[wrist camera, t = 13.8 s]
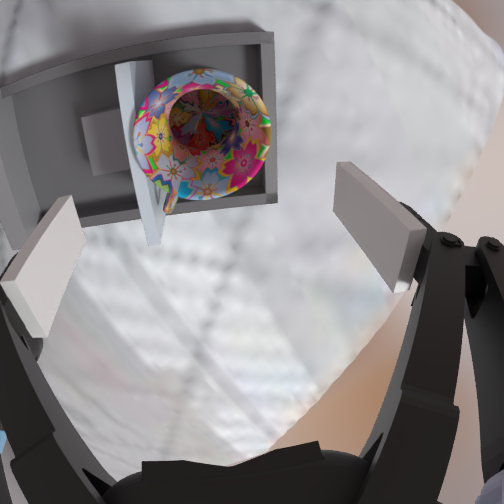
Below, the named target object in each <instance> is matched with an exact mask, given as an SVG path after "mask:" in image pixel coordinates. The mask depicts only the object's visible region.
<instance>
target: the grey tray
mask: <svg viewBox="0 0 504 504" xmlns="http://www.w3.org/2000/svg"><path fill="white" fill-rule="evenodd" d="M145 60H152V62H153V72H154V81H155V87H156V86H157V85H158V84H160V83H161V82H162V81H164V80H166V79H167V78H169V77H171V76H173V75H175V74H178V73H181V72H184V71H188V70H194V69H214V70H219V71H223V72H226V73H229V74H232V75H234V76H236V77H238V78H240V79H241V80H243V81H244V82H246V83H247V84H248V85H249V86H250V87H251V88H253V89H254V90H255V92H256V93H257V94H258V95H259V97H260V98H261V100H262V101H263V103H264V105H265V107H266V109H267V112H268V115H269V119H270V124H271V141H270V147H269V151H268V154H267V156H266V159H265V161H264V163H263V165H262V166H261V168H260V169H259V171H258V172H257V173H256V174H255V176H254V177H253V178H252V179H251V180H250V181H249V182H248V183H246V184H245V185H244V186H243V187H241V188H239V189H238V190H236V191H234V192H232V193H230V194H228V195H226V196H222V197H219V198H215V199H209V200H190V199H185V198H180V197H178V200H177V202H176V205H175V207H174V209H173V211H172V212H171V213H170V214H168V213H166V215H174V214H182V213H190V212H198V211H207V210H215V209H224V208H233V207H243V206H252V205H262V204H273V203H278V195H277V122H276V82H275V51H274V32H236V33H220V34H208V35H198V36H189V37H181V38H174V39H167V40H160V41H154V42H149V43H143V44H138V45H133V46H128V47H124V48H119V49H115V50H111V51H107V52H103V53H99V54H95V55H91V56H88V57H84V58H81V59H77V60H74V61H71V62H67V63H64V64H61V65H58V66H55V67H52V68H49V69H47V70H44V71H41V72H38V73H36V74H33V75H30V76H28V77H25V78H23V79H20V80H18V81H16V82H13V83H11V84H9V85H6V86H4V87H2V88H0V221H1V224H2V226H3V229H4V231H5V234H6V236H7V238H8V241H9V243H10V245H11V248H12V250H18V249H21V248H22V246H23V245H24V243H25V242H26V240H27V239H28V238H29V236H30V235H31V233H32V232H33V231H34V229H35V228H36V226H37V225H38V224H39V222H40V221H41V220H42V218H43V217H44V216H45V214H46V213H47V212H48V210H49V209H50V208H51V207H52V205H53V204H54V203H55V201H56V200H57V199H58V198H59V197H63V196H68V195H72V198H73V202H74V205H75V208H76V212H77V215H78V218H79V221H80V224H81V227H82V228H84V227H90V226H97V225H103V224H110V223H116V222H123V221H130V220H137V219H141V214H140V210H139V206H138V201H137V196H136V192H135V187H134V182H133V178H132V173H131V169H129V170H123V171H117V172H112V173H106V174H101V175H96V176H93V172H92V168H91V164H90V159H89V155H88V150H87V145H86V141H85V136H84V131H83V125H82V120H81V117H83V116H85V115H86V114H88V113H91V112H95V111H99V110H104V109H108V108H113V107H117V106H120V103H119V96H118V88H117V81H116V72H115V65H117V64H121V63H126V62H132V61H145ZM166 215H165V216H166Z"/></svg>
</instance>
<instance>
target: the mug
mask: <svg viewBox="0 0 504 504" xmlns="http://www.w3.org/2000/svg"><path fill="white" fill-rule="evenodd" d="M132 139H133V148H134V152H135V155H136V158H137V161H138V163H139V165H140V167H141V169H142V170H143V172H144V173H145V174H146V176H147V177H148V178H149V179H150V180H151V181H152V182H153V183H154V184H155V185H157V186H158V187H159V188H161V189H162V190H164V191H166V192H167V195H166V199H165V202H164V206H163V211H164V212H165V213H168V214H170V213H171V212H172V211H173V209H174V207H175V205H176V202H177V200H178V197H180V198H185V199H190V200H209V199H215V198H219V197H222V196H226V195H228V194H230V193H232V192H234V191H236V190H238V189H239V188H241V187H243V186H244V185H245V184H246V183H248V182H249V181H250V180H251V179H252V178H253V177H254V176H255V174H256V173H257V172H258V171H259V169H260V168H261V166H262V165H263V163H264V161H265V159H266V156H267V154H268V151H269V147H270V141H271V124H270V119H269V115H268V112H267V109H266V107H265V105H264V103H263V101H262V100H261V98H260V97H259V95H258V94H257V93H256V92H255V90H254V89H253V88H251V87H250V86H249V85H248V84H247V83H246V82H244V81H243V80H241V79H240V78H238V77H236V76H234V75H232V74H229V73H226V72H223V71H219V70H214V69H194V70H188V71H184V72H181V73H178V74H175V75H173V76H171V77H169V78H167V79H166V80H164V81H162V82H161V83H160V84H158V85H157V86H156V87H155V88H154V89H153V90H152V91H151V92H150V93H149V94H148V95H147V96H146V98H145V99H144V101H143V102H142V104H141V106H140V107H139V110H138V112H137V114H136V117H135V121H134V125H133V138H132Z"/></svg>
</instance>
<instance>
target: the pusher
mask: <svg viewBox="0 0 504 504" xmlns="http://www.w3.org/2000/svg"><path fill="white" fill-rule="evenodd" d="M115 72H116V81H117V88H118V96H119V103H120V106H117V107H113V108H108V109H104V110H99V111H95V112H91V113H88V114H86V115H85V116H83V117H81V120H82V125H83V131H84V136H85V141H86V145H87V150H88V155H89V159H90V164H91V168H92V172H93V176H96V175H101V174H106V173H112V172H117V171H123V170H129V169H131V173H132V178H133V182H134V187H135V192H136V196H137V201H138V206H139V210H140V214H141V219H142V223H143V227H144V231H145V235H146V239H147V243H148V246H151V245H159V244H160V243H161V237H162V232H163V226H164V220H165V215H166V213H165V212H164V211H163V206H164V202H165V199H166V195H167V192H166V191H164V190H162V189H161V188H159V187H158V186H157V185H155V184H154V183H153V182H152V181H151V180H150V179H149V178H148V177H147V176H146V174H145V173H144V172H143V170H142V169H141V167H140V165H139V163H138V161H137V158H136V155H135V152H134V148H133V139H132V138H133V125H134V121H135V117H136V114H137V112H138V110H139V107H140V106H141V104H142V102H143V101H144V99H145V98H146V96H147V95H148V94H149V93H150V92H151V91H152V90H153V89H154V88H155V81H154V72H153V62H152V60H145V61H132V62H126V63H121V64H117V65H115Z"/></svg>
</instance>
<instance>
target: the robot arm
mask: <svg viewBox="0 0 504 504" xmlns="http://www.w3.org/2000/svg"><path fill="white" fill-rule="evenodd" d="M333 212H334V213H335V214H336V216H337V217H338V218H339V220H340V221H341V222H342V223H343V225H344V226H345V227H346V229H347V230H348V231H349V233H350V234H351V235H352V237H353V238H354V239H355V241H356V242H357V243H358V245H359V246H360V247H361V249H362V250H363V251H364V253H365V254H366V256H367V257H368V258H369V260H370V261H371V262H372V264H373V265H374V267H375V268H376V269H377V271H378V272H379V274H380V275H381V276H382V278H383V279H384V281H385V282H386V284H387V285H388V287H389V288H390V289H391V291H392V292H393V293H398V292H402V291H407V290H409V289H410V286H411V283H412V280H413V277H414V278H415V280H416V281H417V282H418V287H417V290H416V293H415V295H414V298H413V301H412V304H411V306H412V310H411V314H410V318H409V322H408V326H407V330H406V333H405V337H404V340H403V344H402V347H401V351H400V354H399V357H398V360H397V363H396V366H395V370H394V373H393V376H392V379H391V381H390V384H389V387H388V390H387V393H386V396H385V398H384V401H383V404H382V406H381V409H380V412H379V414H378V417H377V419H376V422H375V424H374V427H373V430H372V432H371V434H370V436H369V438H368V440H367V442H366V444H365V446H364V448H363V450H362V451H361V453H360V455H359V457H357V456H355V455H352V454H349V453H345V452H340V451H333V450H321V449H320V446H319V443H318V441H315V442H310V443H305V444H301V445H296V446H292V447H286V448H281V449H275V450H273V451H270V452H268V453H266V454H263V455H261V456H258V457H256V458H253V459H251V460H248V461H246V462H243V463H241V464H238V465H235V466H230V467H226V466H217V465H210V464H203V463H197V462H191V461H185V460H178V461H142V471H141V472H137V473H135V474H132V475H129V476H127V477H125V478H123V479H121V480H120V481H118V482H117V481H116V480H115V479H114V478H113V477H111V476H110V475H109V474H108V473H107V472H106V470H105V469H104V468H103V467H102V466H101V464H100V463H99V462H98V460H97V459H96V458H95V456H94V455H93V454H92V452H91V451H90V449H89V448H88V447H87V445H86V444H85V442H84V441H83V440H82V438H81V437H80V435H79V434H78V432H77V431H76V429H75V428H74V426H73V425H72V423H71V421H70V420H69V418H68V417H67V415H66V414H65V412H64V410H63V409H62V407H61V405H60V404H59V402H58V400H57V399H56V397H55V395H54V393H53V392H52V390H51V388H50V386H49V384H48V383H47V381H46V379H45V377H44V375H43V373H42V371H41V369H40V367H39V365H38V363H37V361H38V359H39V357H40V354H41V351H42V348H43V340H42V337H48V334H49V331H50V329H51V326H52V323H53V320H54V318H55V315H56V312H57V310H58V307H59V304H60V302H61V299H62V297H63V294H64V292H65V289H66V287H67V284H68V282H69V280H70V277H71V275H72V273H73V270H74V268H75V266H76V263H77V261H78V259H79V257H80V255H81V252H82V250H83V248H84V246H85V244H86V239H85V236H84V234H83V231H82V227H81V224H80V221H79V218H78V215H77V212H76V208H75V205H74V202H73V198H72V195H68V196H63V197H59V198H58V199H57V200H56V201H55V203H54V204H53V205H52V207H51V208H50V209H49V210H48V212H47V213H46V214H45V216H44V217H43V218H42V220H41V221H40V222H39V224H38V225H37V226H36V228H35V229H34V231H33V232H32V233H31V235H30V236H29V238H28V239H27V240H26V242H25V243H24V245H23V246H22V248H21V249H20V251H19V252H18V253H17V254H16V255H15V256H13V257H12V259H11V260H10V262H9V264H8V266H7V267H6V268H5V270H4V273H2V275H1V276H0V454H1V453H2V451H3V448H4V445H5V441H6V438H8V441H9V443H10V445H11V448H12V450H13V452H14V455H15V458H14V459H13V460H11V462H10V466H11V469H12V472H13V474H14V476H15V478H16V480H17V482H18V484H19V486H20V488H21V490H22V492H23V494H24V496H25V498H26V499H27V501H28V503H29V504H442V503H440V502H438V501H437V499H438V496H439V493H440V490H441V487H442V484H443V480H444V477H445V473H446V470H447V466H448V463H449V460H450V456H451V452H452V448H453V444H454V440H455V435H456V431H457V426H458V421H459V413H460V410H459V407H458V406H454V404H453V402H454V395H455V389H456V383H457V377H458V370H459V363H460V355H461V345H462V334H463V322H464V319H465V324H466V329H467V334H468V339H469V344H470V349H471V355H472V361H473V367H474V375H475V382H476V389H477V399H478V409H479V422H480V440H481V461H482V471H483V478H484V483H485V484H484V486H483V489H482V491H481V495H480V496H478V498H477V499H476V501H475V504H504V245H503V244H502V243H500V242H499V240H497V239H495V238H493V237H492V238H491V237H486V236H484V237H481V238H480V239H479V241H478V243H477V246H476V247H470V246H464V243H463V241H462V240H461V239H460V238H458V237H457V236H455V235H453V234H450V233H447V232H437V231H436V230H435V229H434V228H433V227H432V226H431V225H430V224H429V223H427V222H426V221H425V220H424V219H422V217H421V216H420V215H419V214H417V212H415V211H414V210H413V209H412V208H411V207H410V206H408V205H406V204H404V203H402V202H398V201H397V200H396V199H395V198H393V197H392V196H391V195H390V194H389V193H388V192H387V191H385V190H384V189H383V188H382V187H381V186H380V185H378V184H377V183H376V182H375V181H374V180H372V179H371V178H370V177H369V176H368V175H366V174H365V173H364V172H363V171H362V170H360V169H359V168H358V167H357V166H355V165H354V164H353V163H352V162H337V167H336V181H335V195H334V207H333ZM0 504H12V500H11V497H10V493H9V490H8V486H7V482H6V478H5V473H4V470H3V465H2V460H1V455H0Z"/></svg>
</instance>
